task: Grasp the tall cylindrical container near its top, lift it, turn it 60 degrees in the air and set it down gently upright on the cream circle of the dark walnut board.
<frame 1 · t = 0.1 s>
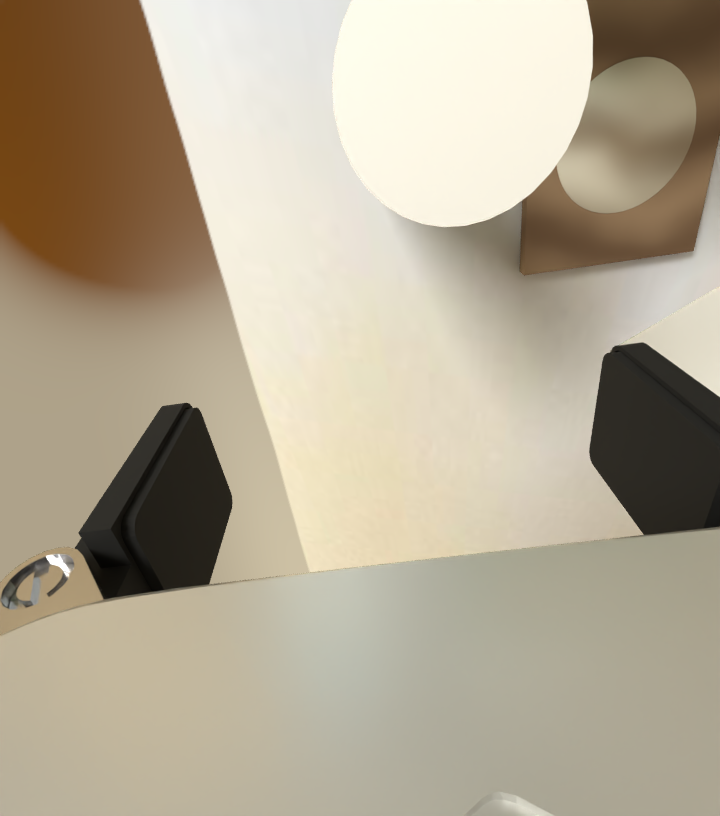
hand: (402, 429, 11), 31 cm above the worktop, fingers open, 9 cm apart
milk: (689, 358, 45), on the worktop
walnut board: (616, 140, 35), on the worktop
cylindrical container: (389, 115, 34), on the worktop
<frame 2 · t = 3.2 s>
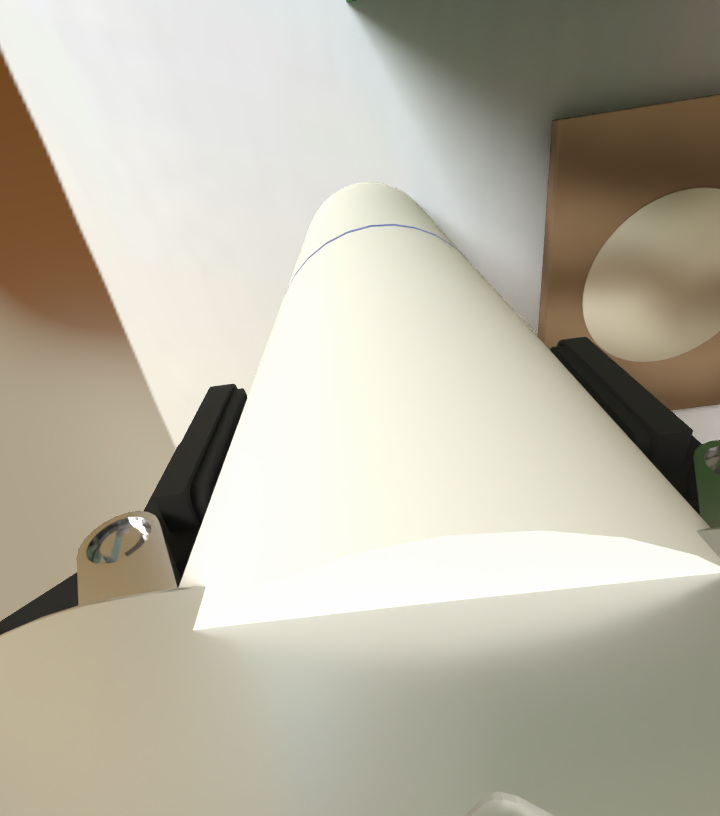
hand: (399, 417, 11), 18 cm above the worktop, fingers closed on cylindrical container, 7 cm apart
walnut board: (658, 277, 28), on the worktop
cylindrical container: (369, 249, 27), on the worktop, touching gripper
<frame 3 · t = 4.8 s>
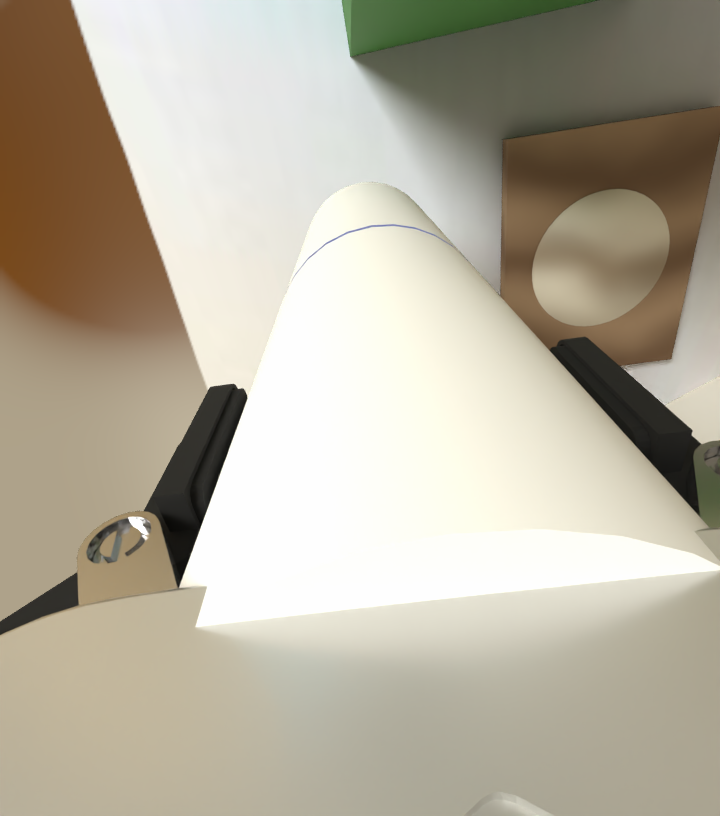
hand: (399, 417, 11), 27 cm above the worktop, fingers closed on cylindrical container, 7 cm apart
milk: (671, 450, 46), on the worktop
walnut board: (592, 258, 36), on the worktop
cylindrical container: (368, 250, 27), point 9 cm above the worktop, touching gripper
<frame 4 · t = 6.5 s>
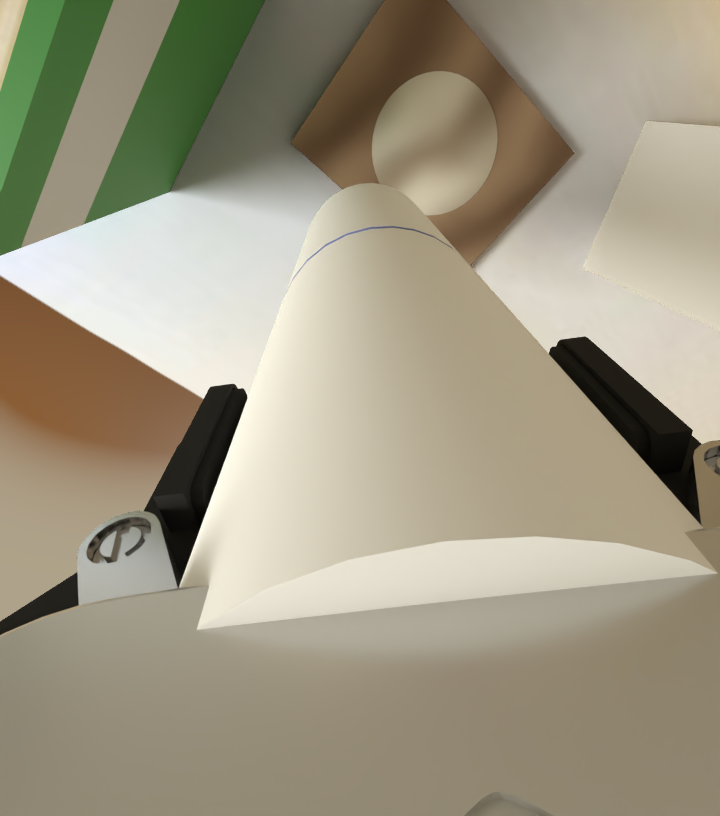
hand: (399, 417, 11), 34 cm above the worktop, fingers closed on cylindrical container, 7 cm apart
milk: (669, 212, 41), on the worktop
hardback book: (175, 55, 35), on the worktop
walnut board: (431, 147, 38), on the worktop
cylindrical container: (368, 251, 27), point 16 cm above the worktop, touching gripper
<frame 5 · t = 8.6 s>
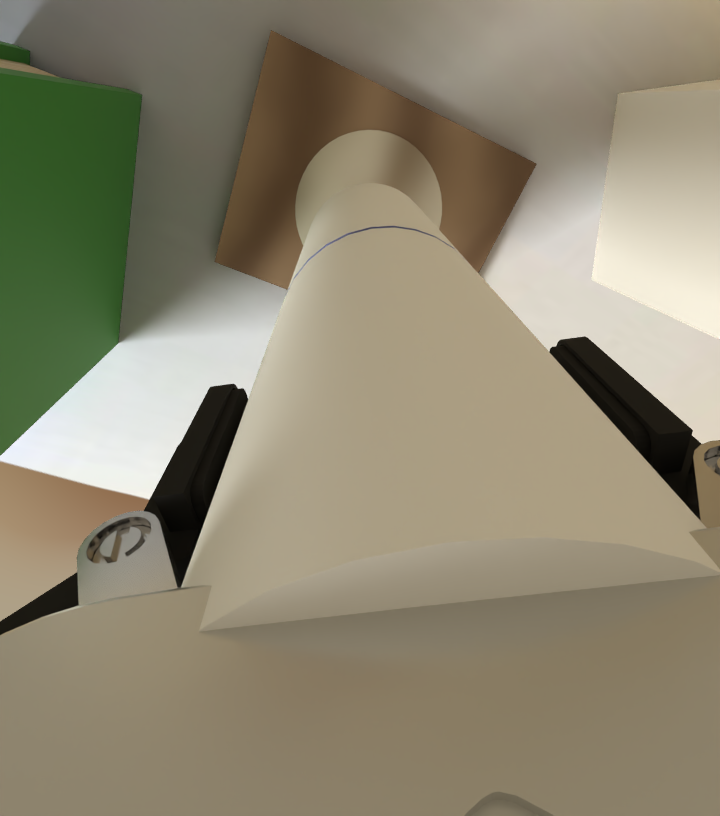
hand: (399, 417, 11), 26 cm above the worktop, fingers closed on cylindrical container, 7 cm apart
milk: (685, 184, 33), on the worktop
hardback book: (74, 216, 33), on the worktop
walnut board: (368, 212, 33), on the worktop
cylindrical container: (369, 250, 27), point 8 cm above the worktop, touching gripper
when the fingers open (20 cm above the worktop, at t = 10.3 s): cylindrical container stays where it is, resting on walnut board.
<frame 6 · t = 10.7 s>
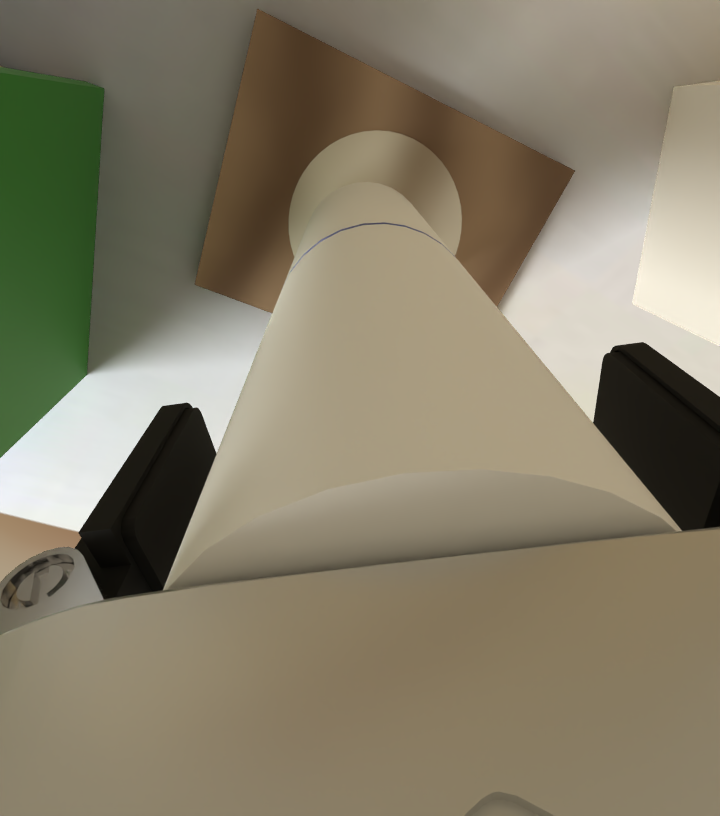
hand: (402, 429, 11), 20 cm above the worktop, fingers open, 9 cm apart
hardback book: (30, 231, 28), on the worktop
walnut board: (374, 226, 28), on the worktop
cylindrical container: (364, 248, 28), point 1 cm above the worktop, touching walnut board
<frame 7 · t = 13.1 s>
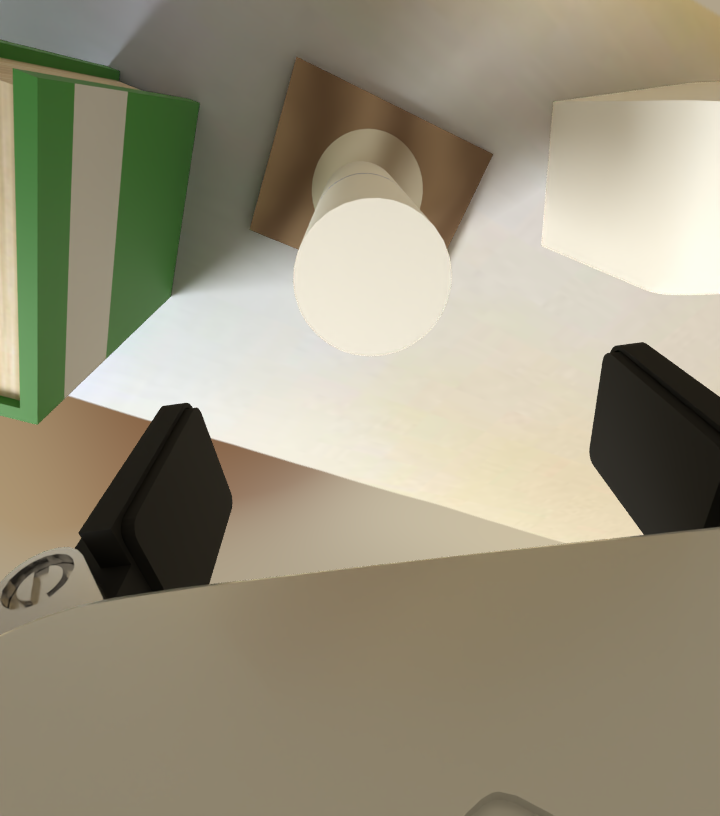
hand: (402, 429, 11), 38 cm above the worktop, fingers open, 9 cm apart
milk: (609, 170, 43), on the worktop
hardback book: (143, 194, 43), on the worktop
walnut board: (366, 191, 43), on the worktop
cylindrical container: (360, 205, 43), point 1 cm above the worktop, touching walnut board
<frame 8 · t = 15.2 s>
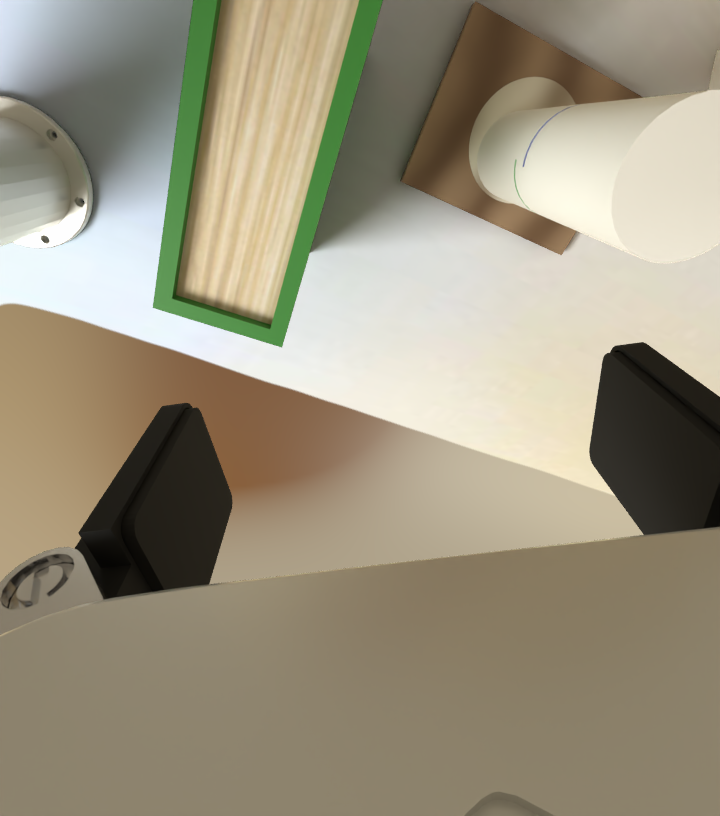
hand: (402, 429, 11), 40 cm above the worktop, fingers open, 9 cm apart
hardback book: (298, 146, 43), on the worktop
walnut board: (519, 143, 43), on the worktop
cylindrical container: (515, 156, 43), point 1 cm above the worktop, touching walnut board
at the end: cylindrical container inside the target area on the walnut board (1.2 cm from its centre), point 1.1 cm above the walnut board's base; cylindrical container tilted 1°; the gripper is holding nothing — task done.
